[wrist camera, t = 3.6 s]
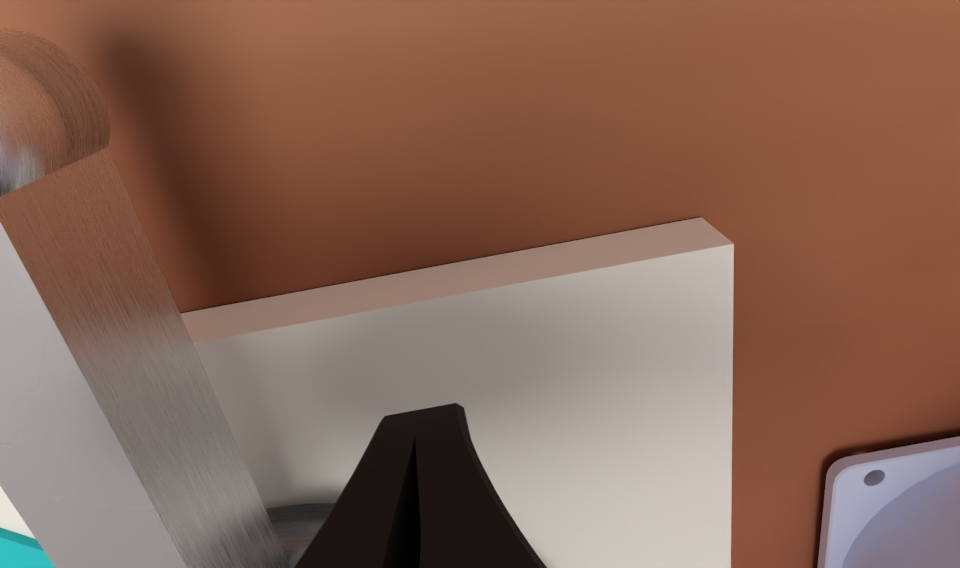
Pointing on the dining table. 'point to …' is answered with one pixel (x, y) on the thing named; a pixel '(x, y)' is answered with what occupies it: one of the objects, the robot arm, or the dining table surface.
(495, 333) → the base board
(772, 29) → the dining table surface
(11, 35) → the crank handle
